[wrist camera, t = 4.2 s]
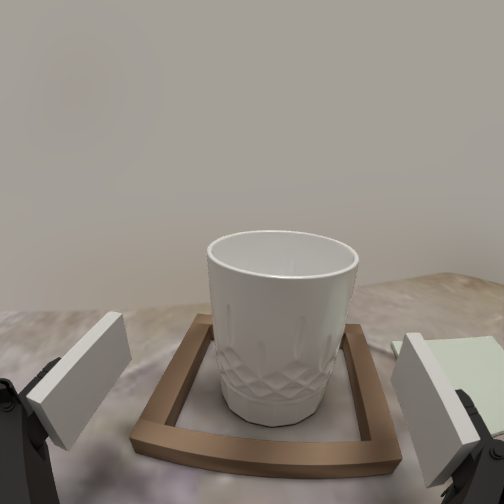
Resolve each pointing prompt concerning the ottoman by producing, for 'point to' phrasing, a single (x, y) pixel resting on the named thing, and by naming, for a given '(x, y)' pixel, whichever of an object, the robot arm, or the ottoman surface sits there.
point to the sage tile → (473, 373)
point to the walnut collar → (264, 451)
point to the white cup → (278, 319)
